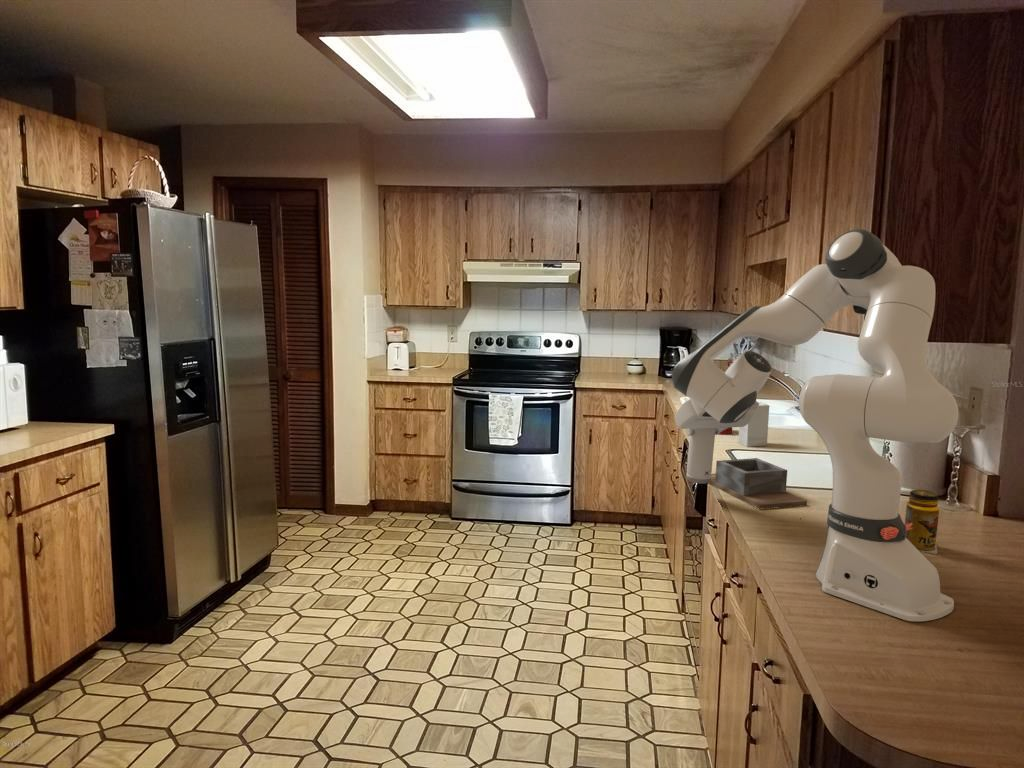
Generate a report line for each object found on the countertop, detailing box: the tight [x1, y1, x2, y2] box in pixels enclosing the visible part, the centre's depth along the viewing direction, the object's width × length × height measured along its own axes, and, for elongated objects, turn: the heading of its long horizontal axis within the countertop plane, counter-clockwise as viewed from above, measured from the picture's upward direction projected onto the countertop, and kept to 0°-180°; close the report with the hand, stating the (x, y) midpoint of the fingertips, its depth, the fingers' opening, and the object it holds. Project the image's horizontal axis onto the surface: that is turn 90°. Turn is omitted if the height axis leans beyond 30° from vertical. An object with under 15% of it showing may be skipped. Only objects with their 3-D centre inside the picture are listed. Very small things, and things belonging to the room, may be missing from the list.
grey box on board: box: [708, 457, 808, 510], centre depth 183 cm, size 28×14×7 cm, turn 16°
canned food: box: [717, 427, 733, 436], centre depth 258 cm, size 11×10×10 cm
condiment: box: [904, 489, 940, 555], centre depth 146 cm, size 7×8×12 cm
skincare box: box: [738, 401, 770, 448], centre depth 237 cm, size 8×6×15 cm
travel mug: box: [685, 428, 716, 485], centre depth 175 cm, size 6×7×20 cm
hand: (701, 433), depth 175 cm, fingers closed on travel mug, 6 cm apart
